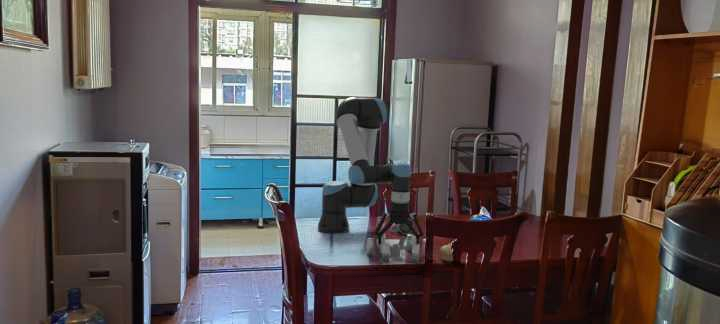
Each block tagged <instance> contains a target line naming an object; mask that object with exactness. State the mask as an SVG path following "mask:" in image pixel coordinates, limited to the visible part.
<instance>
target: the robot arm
mask: <svg viewBox="0 0 720 324" xmlns="http://www.w3.org/2000/svg"><path fill="white" fill-rule="evenodd" d="M387 116H388V112H387V106H386V104H385V101H384V100H383V99H381V98H376V97H375V98H374V97H348V98H346V99H344V100H343V101H341V102H340V104H339V105H338V106H337V108H336V111H335V117H334V118H335V122H336V123H335V124H336V126H337V127H338V128H339V129H340V132H341V136H342V139H343V141H344V145H345V149H346V152H347V156H348V159H349V163H350V166H349V168H348V173H347V175H348V180H349V182H350V183H348V182H347V181H346V180H332V181H328V182H326V183H324V184H323V186H322V190H321V191H322V192H321V195H322V197H321V208H322V209H321V215H320V218H319V221H318V224H317V230H318V231H320V232H322V233H329V234H341V233H347V232H348V231H349V230H350V224H349V219H348V217H347V209H349V208H350V209H352V208H368V207H369V208H370V207H372V206H375V204H376V202H377V201H378V196H379V191H378V190H379V187H378V185H377V184H391V189H390V190H391V193H390V201H391V202H390V212H389V213H387V212H382V216H381V219H380V220H379V223H378V224H377V226H376V228H375V229H374V231H373V234H374V236H377V237H378V238H377V239H378V244H381V245H380V251H379V252H380V254H382V244H383V236H382V235H383V234H386V232H387V231H388V230H390V229H391V228H392V226H394V224H395V225H396V224H405V223H406V224H407V226H408V227H409V228H410V229H411V231H412V232H411V233H412V234H413V235H414V239H413V244H419V243H420V238H421V237H424V235H425V234H424V231H423V230H422V228H421V225H420V223H419V221H418V217H417V214H416V212H413V213H410V197H411V196H410V194H411V180H412V179H411V177H412V172H411V171H412V170H411V169H412V166H411V164H410V163H405V162H404V163H403V162H397V163H396V162H394V163H393V164H389V163H387V164H383V165H374V164H375V163H374V162H375V153H376V152H375V151H376V144H377V133H378V131H379V130H380V129H381V128H382V127H381V126H382V124H385V123H386V121H387V118H388V117H387ZM388 218H390V219H389V221H388V222H387V223H386V224H385V225H384V223H385V221H386V219H388ZM408 219H411V220H412V221H413V223H414V224H415V226H416V228H417V231H418V232H417V231H416V229H415V227H414V228H413V227H412V226H411V224H410V223H409V222H408V221H407V220H408ZM383 225H384V227H383ZM381 228H382V229H381Z"/></svg>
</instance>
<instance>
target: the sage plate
mask: <svg viewBox="0 0 720 324" xmlns="http://www.w3.org/2000/svg"><path fill="white" fill-rule="evenodd" d="M375 241H376V245H377V246H378V238H377V239H375ZM399 241H400V239H391V238H390V239H387V238H386V239H385V243H389V244H390V247H391V246H393V244H399ZM400 249H405V250H406V240H405V243H404V245H403V247H401V246H400Z"/></svg>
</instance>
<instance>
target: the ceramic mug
mask: <svg viewBox="0 0 720 324" xmlns="http://www.w3.org/2000/svg"><path fill="white" fill-rule="evenodd" d="M407 221H408V222H409V223H410V224H411V226H412V227H413V228H414V229H415V225H414V224H415V222H414V220H413V219H412V218H409V219H408V220H407ZM389 230H390V233H392V234H394V233H397V232H399V233H401V234H403V235H407V234H412V233H413V232H412V231H411V229H410V228H409V227H408V226H407V224H406V223H405V224H395V225H393V226H391V227H390V228H389Z"/></svg>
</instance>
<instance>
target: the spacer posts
mask: <svg viewBox="0 0 720 324" xmlns="http://www.w3.org/2000/svg"><path fill="white" fill-rule="evenodd" d="M386 235H387V234H386V233H384V234H383V235H382V236H383V244H382V253H381V262H382V263H389V262H390V244H389V243H385V239H387V236H386ZM414 236H415V234H414V233H409V234H406V249H405V252H408V253H411V263H413V264H417V263H419V262H420V252H421V257H423V258H425V257H424V255H425V243H426V239H427V238H423V239H422V243H421V244H422V247H421V251H420V246H421V245H420V244H413V239H414ZM380 245H381V244H378V245H377V251H378V252H380ZM365 252H366V253H365V254H366V257H371V258H372V257H374V255H375V253H374V252H375V238H374V237H367V238H366V251H365Z"/></svg>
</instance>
